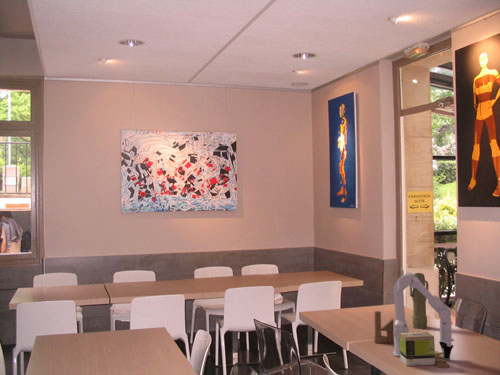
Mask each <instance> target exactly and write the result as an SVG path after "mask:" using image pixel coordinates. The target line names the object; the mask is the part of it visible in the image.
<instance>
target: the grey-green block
mask: <svg viewBox="0 0 500 375" xmlns="http://www.w3.org/2000/svg"><path fill="white" fill-rule="evenodd" d="M435 355H437V357H438V355H441V356H442V357H443V358H444V360H445V361H446V362H450V361H451V357H450V358H445V356H444V350H443V348H442V349H441V351H438V352H435Z"/></svg>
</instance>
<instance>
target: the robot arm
mask: <svg viewBox="0 0 500 375" xmlns="http://www.w3.org/2000/svg"><path fill="white" fill-rule="evenodd" d="M410 285H411V288H412V289H413V288H416V289H418V290H419V291H420V292H421V293H422V294H423V295H424V296H425V297H426V300H427V304H428V305H430V307H431V308H432V309H433V310H434V311H435V312H436V313H437V314H438V317H439V341H438V343H439V346H440V349H441V350H442V348H443V350H444V356H445V358H450V359H451V355H452V354H451V353H452V350H453V348H454V345H453V344H452V342H455V339H454V338H453V337H452V336H453V335H452V332H453V331H452V314H453V312H452V309H451V307H449V306H448V305H447V304H445V303H444V302H443V301H442V300H441V298H440V297H439V296H437V295H433V294H432V293H431V291H429V289H428V290H427V289H426V285H425V286H424V285H423V284H422V283H421V282H420V281H419V279H418V278H417V277H415V276H414V273H412V272H406V273H405V274H402V275H401V276H400V277H398V279H397V281H396V283H395V284H394V286H393V298H394V300H393V301H394V312H395V313H394V314H395V322H394V331H393V334H394V343H393V347H394V350H392V353H393V355H394V356H395V357H401V355H400V333H410V332H409V331H410V329H409V327H408V325H407V320H406V311H405V310H406V309H405V297H404V291H405V290H406V289H407V288H408V287H410Z"/></svg>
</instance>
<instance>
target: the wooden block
mask: <svg viewBox="0 0 500 375" xmlns="http://www.w3.org/2000/svg"><path fill="white" fill-rule="evenodd" d="M381 315H382V312H381V311H379V310H377V311H376V310H375V311H374V336H373V337H374V338H373V340H374V343H375V344H394V334H393V331H394V328H395V324H394V318H393V317H391V318H390V319H389V320H388V321H387V322H386V323H385V324H384V325H383V326H382V318H381V317H382V316H381ZM382 332H386V335H382Z"/></svg>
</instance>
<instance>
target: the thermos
mask: <svg viewBox="0 0 500 375" xmlns="http://www.w3.org/2000/svg"><path fill="white" fill-rule="evenodd" d="M413 275H414V276H415V277H417V278H418V279H419V281H420V282H421V283H422V284H423V285H424V286H425V287H426V289H427V290H428V291H429V282H428V281H427V280H426V277H425V275H424V273H423V272H422V273H421V272H414V273H413ZM409 297H411V300H412V308H413V309H412V310H413V311H412V313H413V314H412V328H414V329H417V330H425V329H427V328H428V326H427V325H428V316H427V306H426V305H427V298H426V297H425V296H424V295H423V294H422V293H421V292H420V291H419V290H418V289H416V288H411V285H410V286H409Z"/></svg>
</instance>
